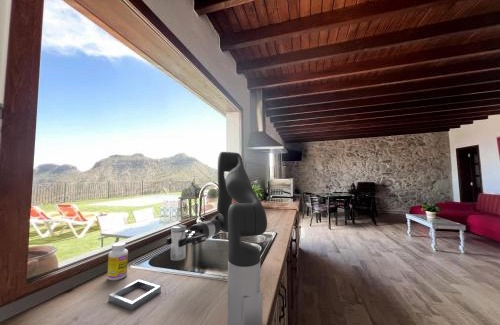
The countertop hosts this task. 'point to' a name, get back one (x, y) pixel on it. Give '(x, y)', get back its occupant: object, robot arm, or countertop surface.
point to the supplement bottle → (117, 261)
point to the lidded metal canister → (176, 235)
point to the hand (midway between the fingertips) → (173, 242)
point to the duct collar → (131, 305)
